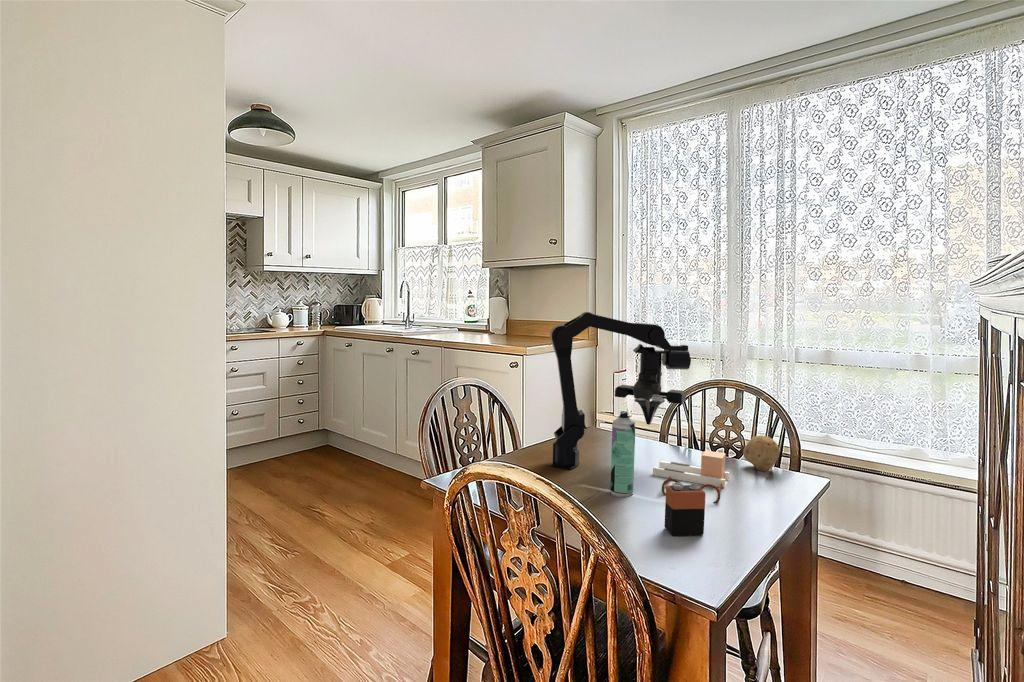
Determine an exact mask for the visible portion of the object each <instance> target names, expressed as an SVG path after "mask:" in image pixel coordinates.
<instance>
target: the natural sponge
mask: <svg viewBox="0 0 1024 682" xmlns="http://www.w3.org/2000/svg"><path fill="white" fill-rule="evenodd" d="M779 454H780V447H779V445H778V443H777V442H776V441H775V440H774V439H773V438H771V437H770V436H767V435H762V434H760V435H755V436H754V437H752V438H751V439H750V440H749V441H748V442H747V444H746V445H745V446H744V448H743V450H742V456H743V457H744V459H745V460H746V461H747V462H749V463H750V464H752V466H754V467H755V469H757V470H759V471H763V472H768V471H769V470H771V469H772V468H773V467H774V466H775V464H776V463H777V461H778V459H779Z"/></svg>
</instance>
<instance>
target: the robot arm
mask: <svg viewBox="0 0 1024 682" xmlns="http://www.w3.org/2000/svg"><path fill="white" fill-rule="evenodd" d="M588 328H594V329H599V330H602V331H603V330H604V331H607V332H611V333H617V334H620V335H624V336H628V337H630V338H632V339H635V340H636V341H639V342H642V343H644V344H647V345H649V346H644V345H643V344H641V343H639V344H638V345H637V346H636V347H635V348H634V349H633V352H634V353H636V354H640V362H639V363H640V364H639V365H640V367H639V368H640V369H639V373H638V378H637V381H636V382H635V383H634V385H627V384H621V385H618V386H617V387H615V389H614V397H615V398H626V397H627V396H633V397H634V400H633V401H634V402H636V403H638V405H639V406H640V408H641V411H642V413H643V416H644V419H645V423H646V425H651V424H652V421H653V420H654V417H655V414H656V412H657V410H658V408H659V406H660V405H661V404H664V403H665V402H666V401H667V403H670V404H678V405H680V404H681V405H682V404H683V403H684V402H686V401H687V393H686V392H685V390H680V389H679V390H678V389H670V390H668V391H662V386H661V385H662V384H661V382H662V375H663V372H662V365H663V366H665V369H666V370H689V369H690V367H691V364H692V358H691V354H690V350H689V345H687V344H680V345H671V344H670V342H669V341H668V340H667V339H666V337H665V336H666V334H665V330H664V328H663V327H662V326H660V325H658V324H654V323H644V322H627V321H623V320H619V319H615V318H611V317H607V316H603V315H598V314H595V313H592V312H589V311H585V312H582V313H581V314H580V315H578V316H576V317H574V318H573V319H570V320H569V321H567V322H565V323H564V324H557V325H554V326H553V327H552V328H551V329H550V331H549V338H550V341H551V345H552V348H553V351H554V353H555V357H556V362H557V368H558V369H557V370H558V377H559V384H560V391H561V401H562V411H561V412H562V413H561V425H560V426H559V427H558V429H556V430H555V431H554V432H553V435H554V438H555V441H554V442H552V462H551V463H549V465H550V467H555V468H560V469H565V470H572V469H574V468H576V467H577V466H578V465H580V462H579V461H580V449H578V441H579V440H581V439H582V438H583V437H584V435H585V429H586V430H587V428H588V427H587V426H586V423H585V422H586V420H585V418H586V415H585V413H584V412H583V410H582V409H580V410H579V409H578V405H577V404H578V403H577V396H576V389H575V382H574V380H575V379H574V373H573V372H574V371H573V365H572V359H571V358H572V351H573V341H574V340H573V338H574V337H576V336H578V335H580V334H581V333H583V332H584V331H585V330H586V329H588ZM655 347H657V348H659V349H661V350H657V349H655Z"/></svg>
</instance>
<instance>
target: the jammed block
mask: <svg viewBox="0 0 1024 682" xmlns="http://www.w3.org/2000/svg"><path fill="white" fill-rule="evenodd" d="M726 455H727V454H726V453H724V452H718V451H711V450H704V451H703V453H702V454H701V459H700V460H701V463H700V468H701V475H703V476H709V477H715V478H721V479H724V478H725V472H726Z"/></svg>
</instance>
